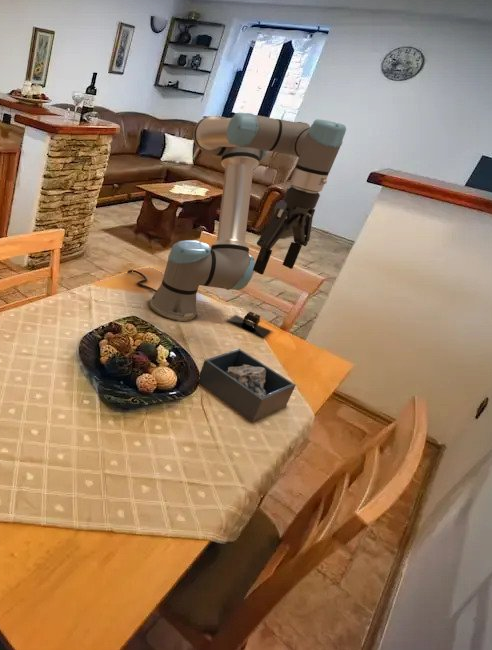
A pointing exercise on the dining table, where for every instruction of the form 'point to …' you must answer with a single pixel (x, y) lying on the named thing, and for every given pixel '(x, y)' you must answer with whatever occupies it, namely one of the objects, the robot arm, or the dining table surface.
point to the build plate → (250, 324)
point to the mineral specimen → (250, 377)
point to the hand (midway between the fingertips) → (273, 269)
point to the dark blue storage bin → (240, 395)
